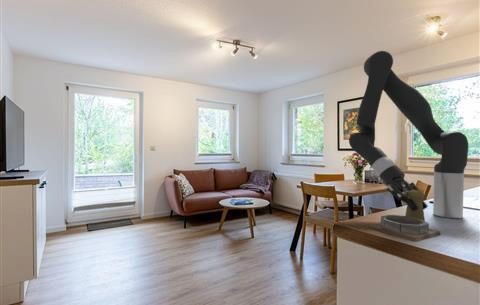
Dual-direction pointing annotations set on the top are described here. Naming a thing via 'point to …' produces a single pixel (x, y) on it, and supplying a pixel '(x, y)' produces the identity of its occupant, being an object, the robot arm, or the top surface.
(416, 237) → the socket base
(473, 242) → the top surface
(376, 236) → the top surface
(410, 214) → the cork
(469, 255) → the top surface
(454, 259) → the top surface
